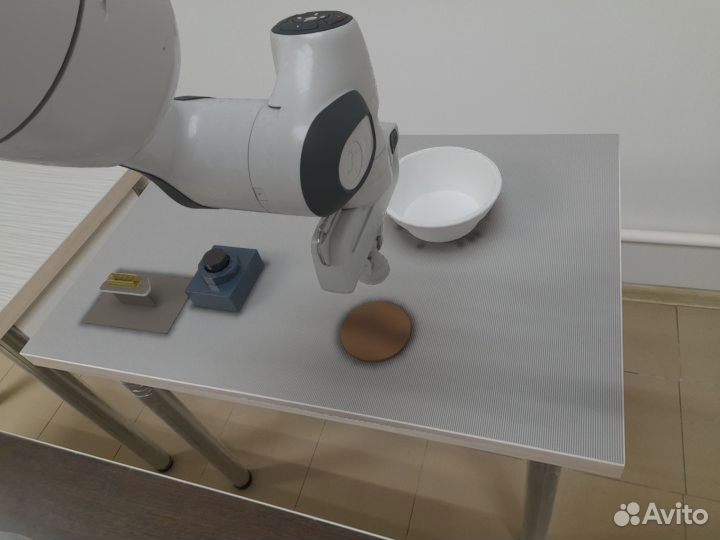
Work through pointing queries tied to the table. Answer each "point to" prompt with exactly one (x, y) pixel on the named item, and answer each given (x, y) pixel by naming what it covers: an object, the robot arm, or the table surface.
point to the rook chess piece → (376, 267)
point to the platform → (139, 302)
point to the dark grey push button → (215, 260)
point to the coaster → (375, 331)
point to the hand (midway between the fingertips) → (371, 257)
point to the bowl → (444, 192)
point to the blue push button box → (226, 280)
